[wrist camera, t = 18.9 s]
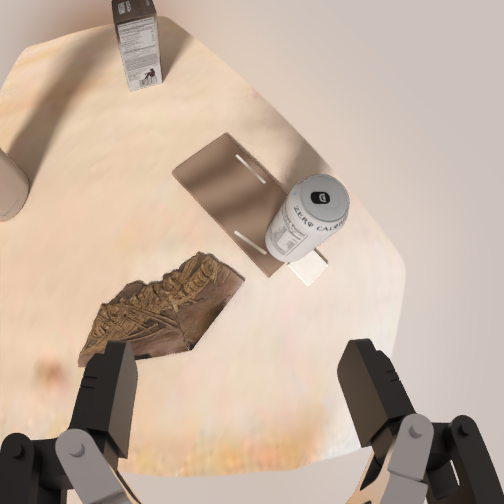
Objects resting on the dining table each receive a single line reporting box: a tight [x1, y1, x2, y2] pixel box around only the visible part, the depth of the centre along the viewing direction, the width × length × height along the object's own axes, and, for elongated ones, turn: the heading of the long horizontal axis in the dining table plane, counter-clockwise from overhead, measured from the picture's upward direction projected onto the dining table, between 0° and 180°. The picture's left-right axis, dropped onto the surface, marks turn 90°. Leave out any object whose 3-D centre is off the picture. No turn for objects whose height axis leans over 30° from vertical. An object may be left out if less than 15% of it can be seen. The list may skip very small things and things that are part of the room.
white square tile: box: [288, 250, 328, 286], centre depth 42 cm, size 4×4×1 cm
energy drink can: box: [265, 174, 350, 263], centre depth 34 cm, size 6×6×15 cm
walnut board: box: [172, 134, 288, 278], centre depth 43 cm, size 20×10×1 cm, turn 43°
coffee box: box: [112, 0, 163, 92], centre depth 39 cm, size 9×6×16 cm
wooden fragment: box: [78, 253, 245, 367], centre depth 37 cm, size 26×11×1 cm, turn 117°
